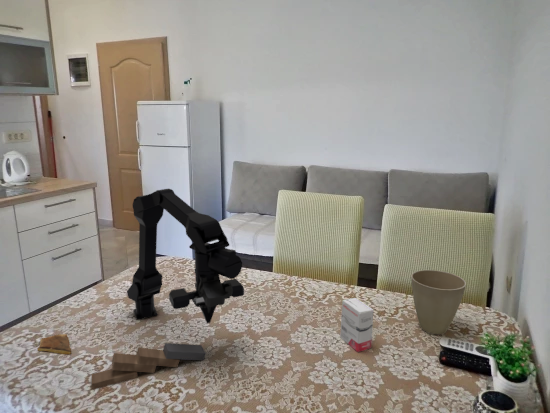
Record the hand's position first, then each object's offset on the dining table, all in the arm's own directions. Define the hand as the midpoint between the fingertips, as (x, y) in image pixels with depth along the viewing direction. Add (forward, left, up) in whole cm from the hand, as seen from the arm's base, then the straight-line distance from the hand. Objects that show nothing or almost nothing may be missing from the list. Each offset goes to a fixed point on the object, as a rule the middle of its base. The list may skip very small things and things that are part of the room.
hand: (208, 322), depth 107 cm
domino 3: (+2, -9, -7) cm, 12 cm away
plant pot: (+19, +64, -9) cm, 67 cm away
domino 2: (+1, -15, -7) cm, 16 cm away
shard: (-21, -36, -9) cm, 42 cm away
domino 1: (+1, -19, -8) cm, 21 cm away
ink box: (+15, +38, -9) cm, 42 cm away
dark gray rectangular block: (+2, -2, -7) cm, 8 cm away
